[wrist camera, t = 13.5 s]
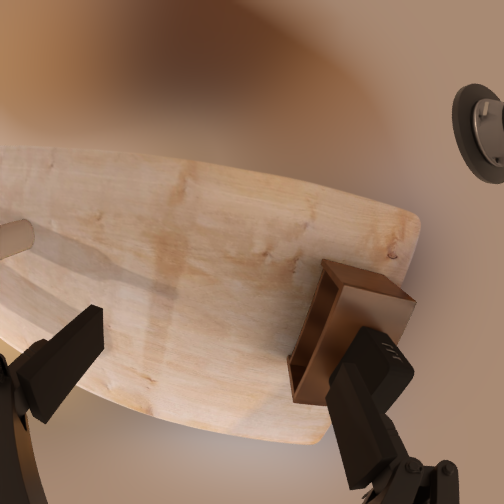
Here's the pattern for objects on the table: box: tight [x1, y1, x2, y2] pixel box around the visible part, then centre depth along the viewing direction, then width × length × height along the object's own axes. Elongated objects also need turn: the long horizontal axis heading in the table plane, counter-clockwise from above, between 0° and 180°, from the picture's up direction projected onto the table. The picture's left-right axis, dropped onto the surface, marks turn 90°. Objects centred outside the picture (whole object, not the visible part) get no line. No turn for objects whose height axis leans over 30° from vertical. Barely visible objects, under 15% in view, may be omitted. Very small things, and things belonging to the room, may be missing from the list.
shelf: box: [287, 259, 417, 406], centre depth 41 cm, size 20×12×12 cm, turn 166°
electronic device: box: [329, 326, 414, 414], centre depth 30 cm, size 4×10×10 cm, turn 159°
